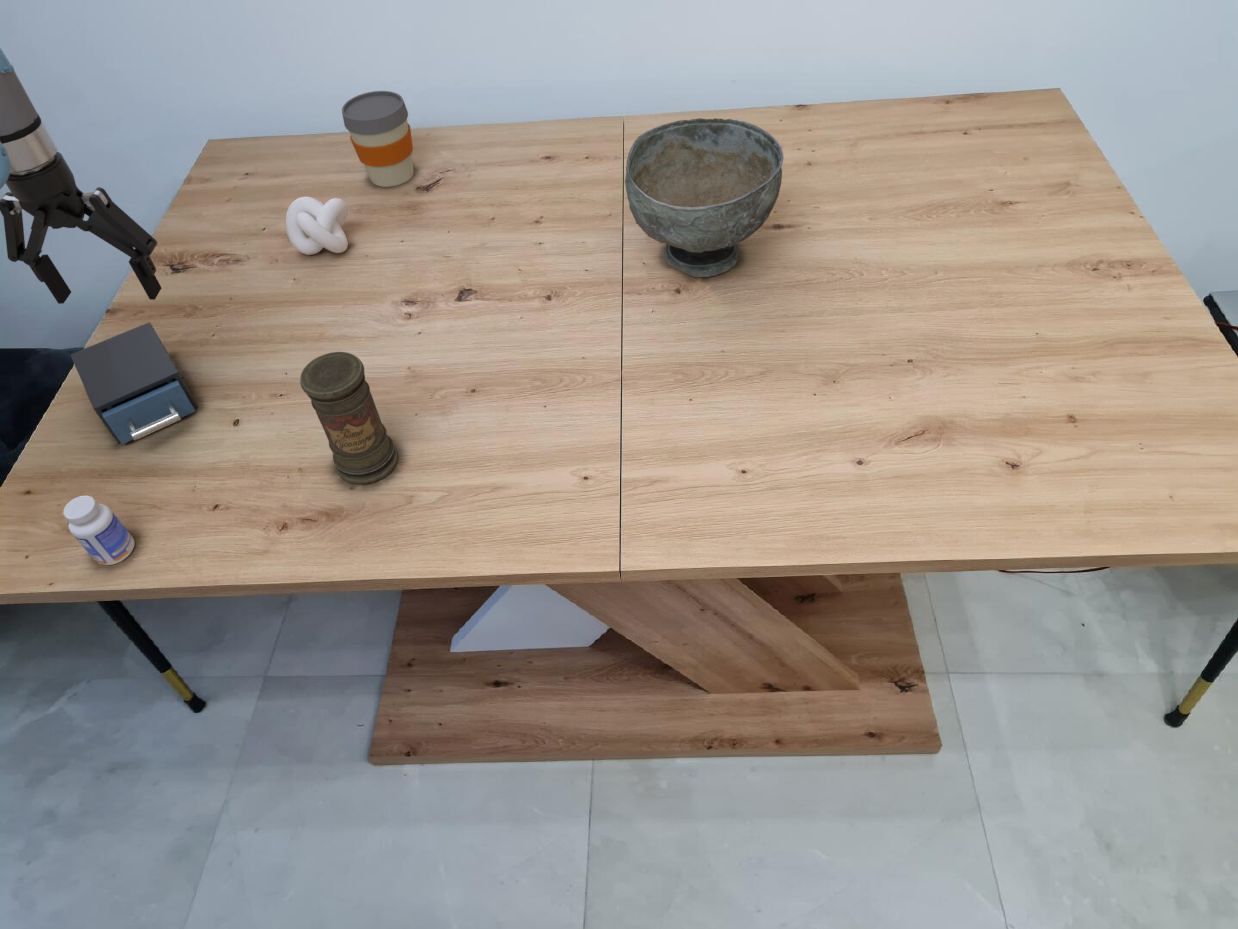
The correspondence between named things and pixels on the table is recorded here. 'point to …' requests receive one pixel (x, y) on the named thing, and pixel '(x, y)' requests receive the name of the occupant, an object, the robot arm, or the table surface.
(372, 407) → the container
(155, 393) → the drawer
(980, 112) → the table surface
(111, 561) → the pill bottle
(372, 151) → the reusable coffee cup
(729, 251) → the decorative bowl
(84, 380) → the small cabinet
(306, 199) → the white knot sculpture
